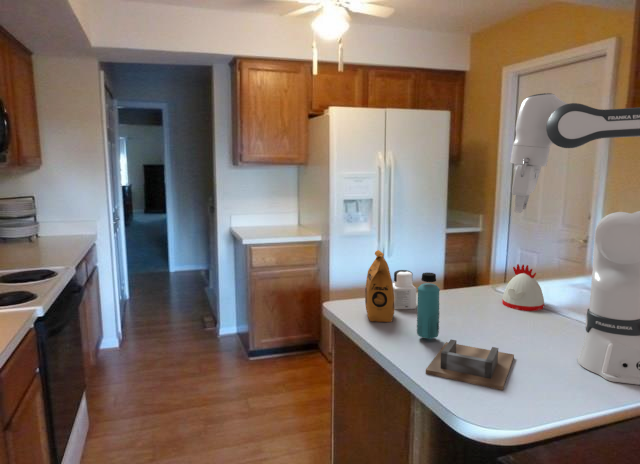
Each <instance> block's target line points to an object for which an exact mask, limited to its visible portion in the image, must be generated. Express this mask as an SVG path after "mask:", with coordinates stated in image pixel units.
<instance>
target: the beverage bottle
mask: <svg viewBox="0 0 640 464" xmlns="http://www.w3.org/2000/svg"><path fill="white" fill-rule="evenodd" d="M436 275H437V274H436V273H434V272H423V273H422V274H421V281H422V282H425V283H422V284H420V285H419V286H418V287H417V305H416V308H417V309H416V311H417V312H416V315H417V316H416V334H417V336H419V337H421V338H424V339H436V338H438V337H439V334H440V317H441V316H440V291H441V290H440V289H441V288H440V287H439V286H438V285H437V284H435V282H437V276H436Z"/></svg>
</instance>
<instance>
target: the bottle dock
mask: <svg viewBox="0 0 640 464" xmlns="http://www.w3.org/2000/svg"><path fill="white" fill-rule="evenodd" d="M514 356H515V354H512V353H507V352H503V351H499V347H494V346H492V347H491V349H486V348H481V347H476V346H470V345H469V346H468V345H463V344H460V343H457V339H450V340H449V341H448V342H447V341H445V343H444V344H443V346H442V347H441V348H440V350H439V351H438V352H437V354H436V355H435V356H434V358H433V359H432V360H431V361H430V363H429V364H428V366H427V367H426V368H425V374H427V375H432V376H436V377H441V378H446V379H449V380H454V381H458V382H463V383H467V384H473V385H477V386H482V387H485V388H491V389H495V390H500V391H503V390H504V388H505V385H506V383H507V379H508V376H509V374H510V370H511V367H512V364H513V361H514V358H515V357H514Z"/></svg>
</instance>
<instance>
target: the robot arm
mask: <svg viewBox="0 0 640 464" xmlns="http://www.w3.org/2000/svg"><path fill="white" fill-rule="evenodd" d="M639 137H640V107H629V108H628V107H627V108H626V107H625V108H611V109H609V108H608V109H606V108H605V109H602V108H601V109H598V108H595V107H592V106H589V105H586V104H582V103H577V102H572V103H567V102H566V101H564V100H562V99H560V98H559V97H558V96H557V95H556V94H555V93H549V92H547V93H536V94H533V95H530V96H527V97H526V98H525V99H524V100H522V102H521V104H520V107H519V111H518V114H517V118H516V123H515V139H514V141H513V142H512V149H511V155H510V161H509V162H510V164H514V168H513V171H515V173H514V176H513V183H512V186H511V187H512V188H511V194H512V195H513V196H515V198H514V202H515V204H514V212H515V213H519V214H520V213H521V214H522V212H523V210H526V209H527V206H528V203H529V199H530V196H531V195H530V194H532V193H534V191H535V189H536V187H537V183H538V180H539V177H540V173H541V170H542V167H547V166H548V161H549V154H550V148H551V145H556V146H557V147H560V148H563V149H577V148H580V147H582V146H584V145H585V144H587V143H590V142H592V141H596V140H600V139H611V138H612V139H614V138H615V139H617V138H639ZM593 242H594V243H593V254H592V255H593V258H592V271H591V273H592V274H591V284H590V285H591V286H590V296H589V306H588V307H589V308H587V310H586V314H585V323H584V324H585V325H584V326H585V331H586V332H585V337H584V341H583V345H582V347H581V350H580V353H579V356H578V357H577V362H578V364H579V365H580V366H581V367H583V368H584V369H586V370H588V371H589V372H592V373H594V374H597V375H599V376H600V377H602V378H604V379H605V380H606V381H609V382H614V383H623V384H630V385H638V386H639V385H640V210H637V211H635V212H632V213H630V212H625V211H616V212H612V213H609V214H607V215H605V216H603V217H602V218H601V219H600V220H599V221H598V222H597V224H596V227H595V230H594V241H593Z"/></svg>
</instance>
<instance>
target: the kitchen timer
mask: <svg viewBox="0 0 640 464" xmlns="http://www.w3.org/2000/svg"><path fill="white" fill-rule="evenodd" d="M512 269H513V272H514V275H515V276H513V277H512V278H511V279H510V280H509V281H508V282H507V285H506V287H505V290H504V291H503V294H502V299H501V303H502V305H503V306H505V307H507V308H510V309H514V310H518V311H527V312H528V311H529V312H536V311H541V310H543V309H544V308H543V306H544V307H545V298H544V295H543V290H542V287H541V286H540V284H539V282H538V281H537V279H536V278H535V277H536V275H537V272H535V273H533V268H531V269H529V265H528V264H526V266H525V264H522V265H521V267H520V264H519V263H517V264H516V266H513V267H512ZM532 273H533V274H532Z"/></svg>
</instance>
